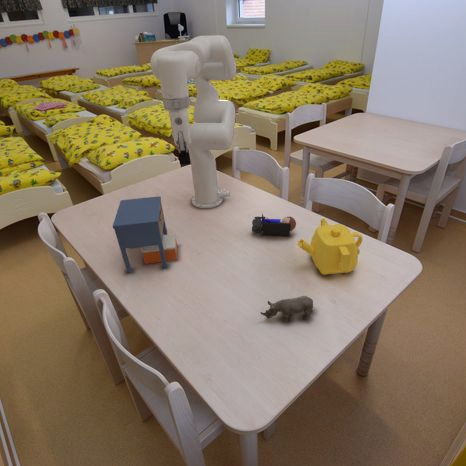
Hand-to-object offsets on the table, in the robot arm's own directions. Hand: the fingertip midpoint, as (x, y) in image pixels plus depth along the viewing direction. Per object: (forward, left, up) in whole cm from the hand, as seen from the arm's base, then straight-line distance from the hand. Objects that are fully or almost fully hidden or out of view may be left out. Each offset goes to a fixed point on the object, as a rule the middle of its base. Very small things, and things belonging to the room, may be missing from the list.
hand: (185, 163), depth 107 cm
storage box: (+11, +13, -25) cm, 30 cm away
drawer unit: (+15, +13, -25) cm, 32 cm away
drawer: (+14, +13, -15) cm, 24 cm away
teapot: (-39, +28, -25) cm, 54 cm away
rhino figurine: (-22, +46, -25) cm, 57 cm away
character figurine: (-27, +9, -25) cm, 38 cm away
